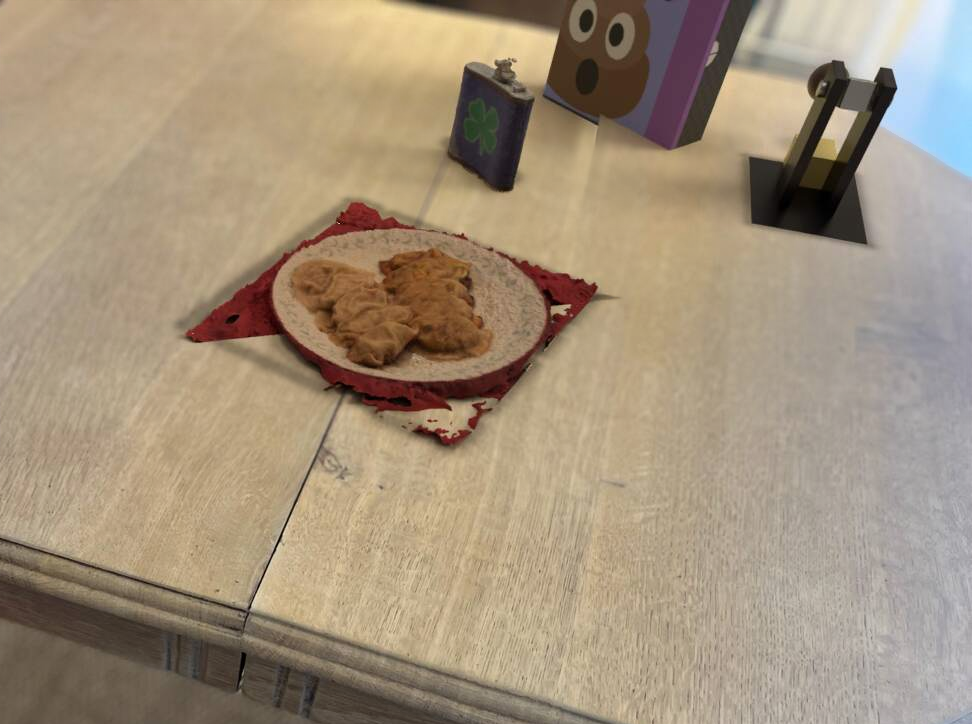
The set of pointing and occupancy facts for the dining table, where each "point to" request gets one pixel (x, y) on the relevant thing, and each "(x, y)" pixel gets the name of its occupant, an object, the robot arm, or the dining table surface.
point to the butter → (817, 163)
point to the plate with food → (404, 312)
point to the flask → (491, 123)
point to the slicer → (838, 198)
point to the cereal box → (646, 63)
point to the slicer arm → (845, 90)
